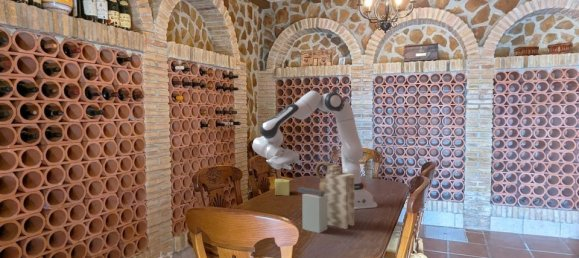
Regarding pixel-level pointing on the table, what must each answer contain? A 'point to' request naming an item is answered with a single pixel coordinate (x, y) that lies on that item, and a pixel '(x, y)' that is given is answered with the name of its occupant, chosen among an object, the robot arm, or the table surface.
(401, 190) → the table surface
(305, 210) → the grey-green upright block
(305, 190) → the strip
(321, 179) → the ceramic vessel
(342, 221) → the beige patterned tall block
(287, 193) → the cheese
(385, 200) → the table surface
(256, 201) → the table surface
